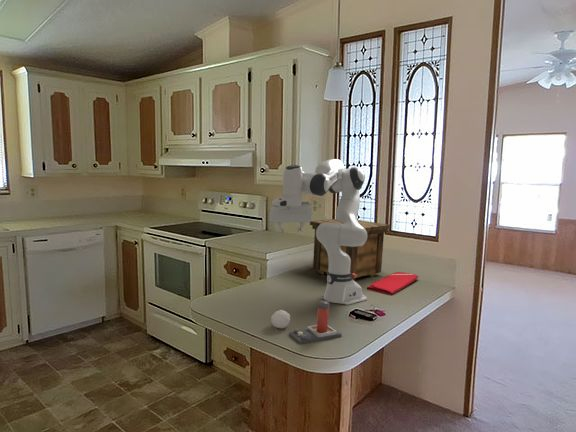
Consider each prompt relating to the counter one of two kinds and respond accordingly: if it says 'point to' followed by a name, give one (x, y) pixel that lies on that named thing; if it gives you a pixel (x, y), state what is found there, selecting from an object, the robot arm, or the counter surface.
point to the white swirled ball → (280, 319)
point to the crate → (355, 250)
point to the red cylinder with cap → (322, 316)
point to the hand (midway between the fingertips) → (290, 232)
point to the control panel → (313, 334)
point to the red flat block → (392, 283)
